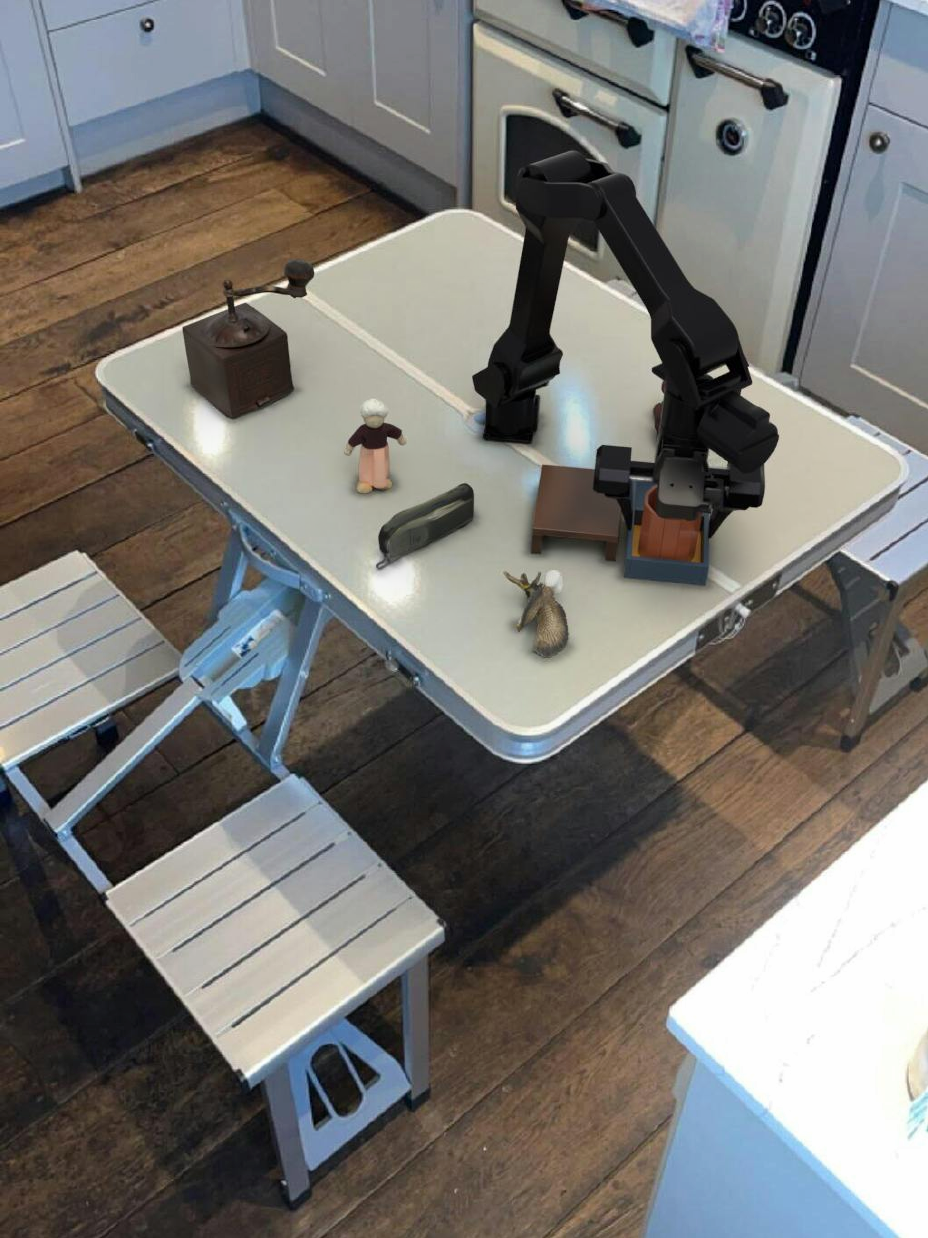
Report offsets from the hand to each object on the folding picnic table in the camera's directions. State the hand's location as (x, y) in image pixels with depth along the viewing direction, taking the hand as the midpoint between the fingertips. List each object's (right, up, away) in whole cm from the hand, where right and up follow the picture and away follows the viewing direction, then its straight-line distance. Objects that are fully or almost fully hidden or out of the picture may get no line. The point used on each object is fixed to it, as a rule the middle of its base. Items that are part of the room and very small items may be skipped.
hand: (669, 532), depth 150 cm
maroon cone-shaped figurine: (+4, +13, +18) cm, 22 cm away
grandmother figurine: (-35, +7, +11) cm, 37 cm away
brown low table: (-10, +1, +6) cm, 12 cm away
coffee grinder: (-52, +22, +27) cm, 62 cm away
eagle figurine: (-16, -11, -6) cm, 20 cm away
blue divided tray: (+1, +1, +6) cm, 6 cm away
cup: (0, -2, +2) cm, 3 cm away
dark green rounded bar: (-29, -1, +4) cm, 29 cm away
